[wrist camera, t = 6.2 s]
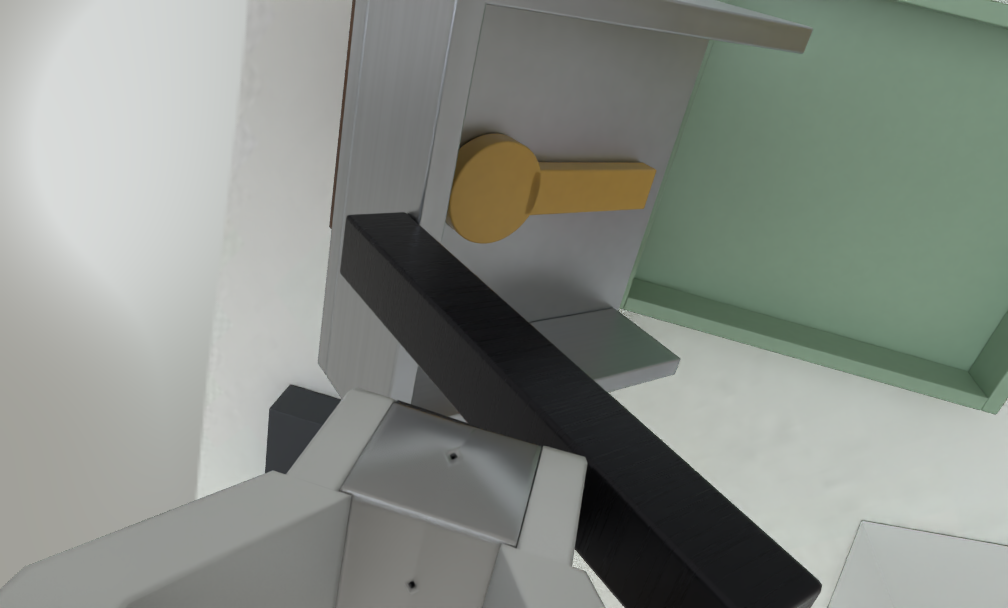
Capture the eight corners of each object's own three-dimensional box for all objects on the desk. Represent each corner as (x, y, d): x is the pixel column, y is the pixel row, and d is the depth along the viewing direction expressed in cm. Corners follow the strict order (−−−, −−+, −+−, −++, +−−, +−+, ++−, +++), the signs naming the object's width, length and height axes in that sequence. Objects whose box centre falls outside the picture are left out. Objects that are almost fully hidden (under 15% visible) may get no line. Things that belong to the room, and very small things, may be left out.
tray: (611, 280, 30) (608, 305, 28) (722, -61, 24) (729, -64, 21) (970, 380, 29) (996, 415, 27) (1184, 50, 23) (1241, 60, 20)
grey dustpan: (268, 371, 17) (588, 913, 9) (298, -90, 12) (1032, 166, 4) (603, 312, 23) (963, 592, 15) (706, -3, 19) (1298, 162, 11)
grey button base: (280, 498, 39) (243, 551, 36) (290, 384, 36) (250, 430, 32) (449, 551, 39) (429, 610, 35) (477, 440, 35) (457, 494, 31)
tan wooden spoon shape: (428, 237, 17) (441, 247, 16) (447, 130, 16) (461, 140, 15) (622, 223, 21) (637, 231, 20) (650, 137, 19) (666, 144, 19)
